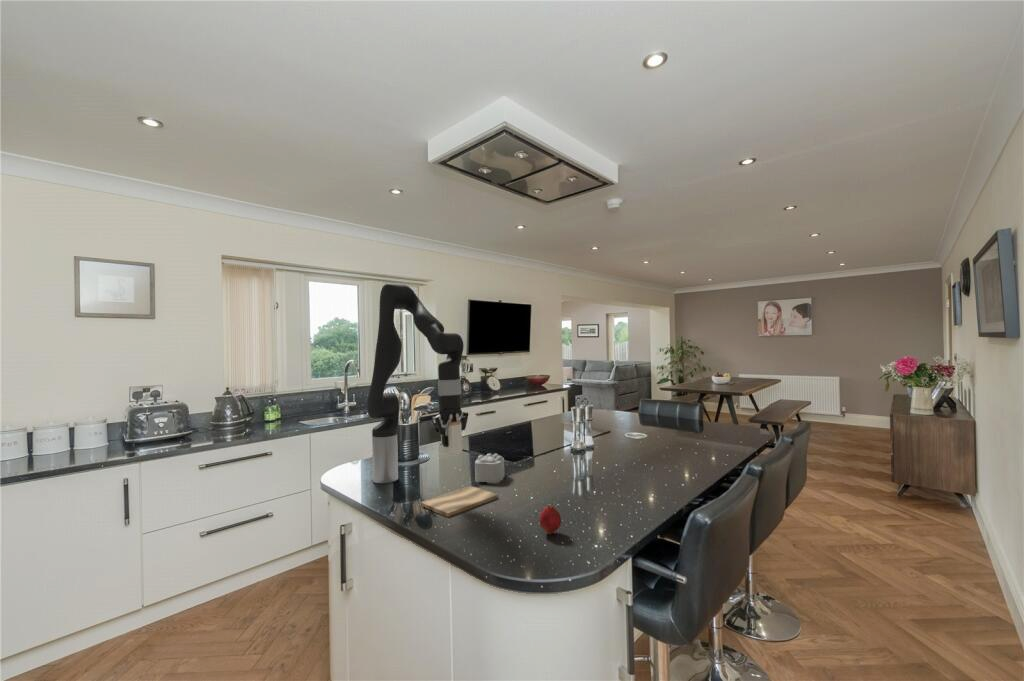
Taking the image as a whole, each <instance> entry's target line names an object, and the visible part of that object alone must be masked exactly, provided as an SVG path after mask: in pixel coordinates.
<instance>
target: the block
mask: <svg viewBox="0 0 1024 681" xmlns="http://www.w3.org/2000/svg"><path fill="white" fill-rule="evenodd" d="M440 423H442V421H441V422H440ZM444 425H445V426H446V425H447V424H444ZM462 432H463V431H462V429H461V421H457V422H456V421H455V422H451V423H449V428H448V440H449V446H448V447H444V446H443V445H442V435H441V434H440V445H441V446H440V447H441V448H440V449H441V453H444V454H449V455H457V454H460V453H463V439H462V438H463V435H462V434H463V433H462Z"/></svg>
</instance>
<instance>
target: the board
mask: <svg viewBox="0 0 1024 681" xmlns="http://www.w3.org/2000/svg"><path fill="white" fill-rule="evenodd" d="M498 498H499V494H497V493H494V492H491V491H488V490H485V489H482V488H479V487H476V486H471V485H468V486H466V487H462V488H459V489H456V490H453V491H450V492H447V493H444V494H441V495H437V496H435V497H433V498H432V497H431V498H428V499H426V500H423V501H420V502H419V503H420V504H419V506H420V507H422V508H424V507H425V508H424V509H426V508H427V509H426V510H429V511H431V510H432V511H431V512H434V513H436V514H438V513H439V514H438V515H441V516H443V517H446V518H449V517H452V515H453V516H455V515H458V514H460V513H463V512H465V511H469V510H470V509H474V508H476V507H478V505H479V506H481V505H484V504H485V503H486V504H487V503H490V502H491V500H492V501H494V500H497V499H498ZM483 503H484V504H483Z"/></svg>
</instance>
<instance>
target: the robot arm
mask: <svg viewBox="0 0 1024 681" xmlns="http://www.w3.org/2000/svg"><path fill="white" fill-rule="evenodd" d="M396 310H405V311H407V312H408V313H410V314H412V316H413V318H412V319H413V323H414V326H415V328H417V330H418V331H419V332H420V333H421V334H423V336H424V337H426V339H427V342H428V343H429V345H430V348H431V349H432V350H433V351H434V353H436V354H438V355H446V358H445V360H444V361H442V362H440V363H438V368H437V371H438V372H437V373H438V374H437V376H438V384H437V385H438V386H437V393H438V395H437V396H438V397H437V399H438V408H439V412H438V414H437V415H436V416H432V417H431V421H432V424H433V428H434V430H435V433H436V434H437V435H440V436H441V435H442V445H443V446H444V447H448V446H449V440H448V428H449V423H451V422H455V421H456V422H457V421H461V429H462V432H463V431H466V428H467V424H468V419H469V412H466V411H463V410H462V405H463V404H462V385H461V376H460V374H461V372H460V367H461V366H460V365H461V363H462V357H463V353H464V341H463V338H462V336H461V335H460V334H459V333H454V332H451V333H449V332H448V333H447V332H445V327H444V325H443V323H441V322H440V320H438V319H437V318H436V317H435V316H434V315H433V314H432V313H431V312H430V311H429V310H428V309H427V308H426V307H425V306H424V303H422V301H421V299H420V298H419V297H418V296H417V294H416V293H415V292H414V290H413V289H412V288H411V287H410V286H409V285H406V284H400V283H388V282H387V283H385V284H384V285H383V286H382V287H381V290H380V295H379V315H378V316H379V317H378V329H377V330H378V331H377V340H376V345H375V352H374V354H375V355H374V364H373V372H372V377H371V383H370V387H369V392H368V395H367V396H368V397H367V402H366V410H367V414H368V416H369V417H370V418H371V419H382V418H383V419H382V420H381V422H380V423H378V424H377V425H376V426H374V427H373V428H372V430H371V434H372V435H371V437H372V438H371V439H372V442H371V444H372V455H371V468H372V470H371V472H372V473H371V474H372V476H371V477H372V481H373V483H376V484H389V483H393V482H396V481H397V480H398V479H399V464H398V462H399V459H398V458H399V457H398V454H399V453H398V428H399V427H400V426H399V422H400V421H399V420H400V400H399V398H398V396H397V394H396V393H394V392H385V388H386V387H387V386H386V385H387V383H388V381H389V380H390V378H391V376H392V375H393V373H394V372H395V371H396V370H397V368H398V366H399V364H400V362H401V356H402V349H403V348H402V344H403V343H402V340H401V337H400V335H399V333H398V331H397V329H396V326H395V311H396ZM440 422H442V423H440ZM444 424H447V425H446V426H445V425H444Z"/></svg>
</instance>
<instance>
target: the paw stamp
mask: <svg viewBox="0 0 1024 681" xmlns="http://www.w3.org/2000/svg"><path fill="white" fill-rule="evenodd" d="M503 478H504V479H505V458H504V457H503V456H502V455H499V454H498V453H494V454H492V453H491V452H489V453H487V454H486V455H482V454H479V455H478V457H477V458H476V460H475V461H474V479H475V480H474V481H475V482H476V483H479V482H487V484H499V483H501V482H502V481H503V480H504V479H503ZM501 480H502V481H501ZM500 481H501V482H500Z"/></svg>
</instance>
